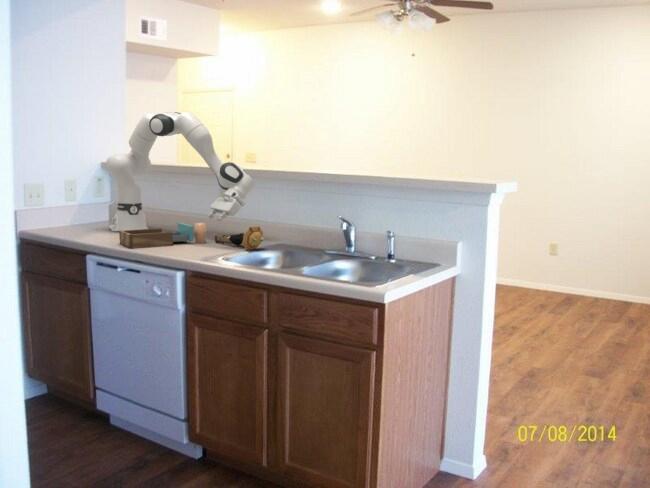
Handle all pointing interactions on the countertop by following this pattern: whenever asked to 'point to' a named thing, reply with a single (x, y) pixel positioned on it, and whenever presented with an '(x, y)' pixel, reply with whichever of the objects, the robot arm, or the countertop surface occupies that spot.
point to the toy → (245, 238)
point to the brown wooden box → (145, 238)
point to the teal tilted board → (183, 233)
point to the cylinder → (200, 233)
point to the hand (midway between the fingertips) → (214, 219)
